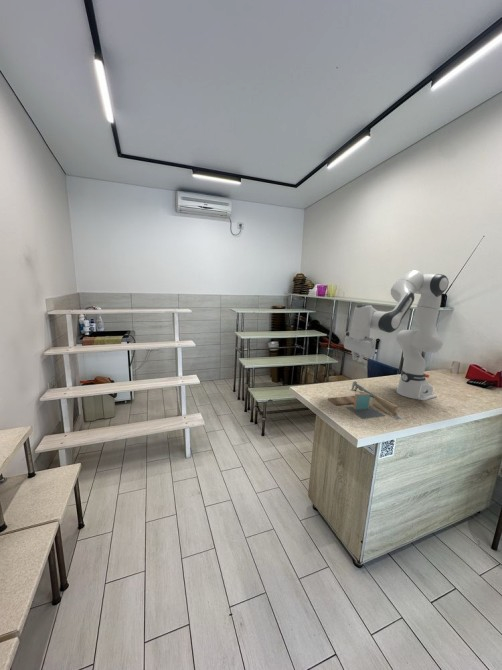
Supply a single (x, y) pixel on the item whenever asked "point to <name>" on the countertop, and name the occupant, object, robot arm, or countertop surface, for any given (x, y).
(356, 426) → the countertop surface
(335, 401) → the board
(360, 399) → the tile
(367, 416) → the mat
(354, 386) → the caliper
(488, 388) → the countertop surface
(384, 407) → the scraper
